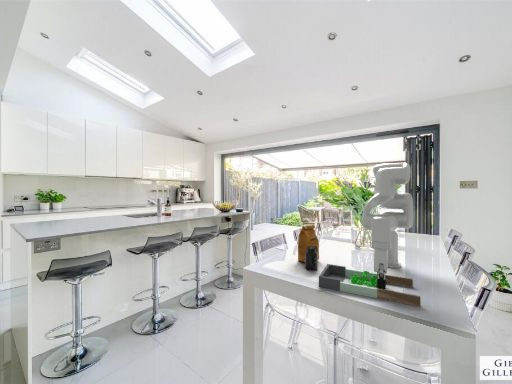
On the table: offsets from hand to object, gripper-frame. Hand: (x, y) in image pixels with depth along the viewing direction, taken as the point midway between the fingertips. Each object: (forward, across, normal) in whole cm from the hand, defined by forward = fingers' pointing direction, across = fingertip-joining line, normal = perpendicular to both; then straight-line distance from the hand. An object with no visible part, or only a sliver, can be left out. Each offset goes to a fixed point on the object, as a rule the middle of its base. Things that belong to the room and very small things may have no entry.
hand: (381, 284), depth 97 cm
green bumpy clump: (+3, 0, -6) cm, 6 cm away
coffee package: (+2, -25, -39) cm, 46 cm away
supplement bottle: (+2, -12, -34) cm, 36 cm away
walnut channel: (+2, 0, +5) cm, 6 cm away
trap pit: (+2, 0, -20) cm, 20 cm away
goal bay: (+2, 0, -9) cm, 9 cm away
